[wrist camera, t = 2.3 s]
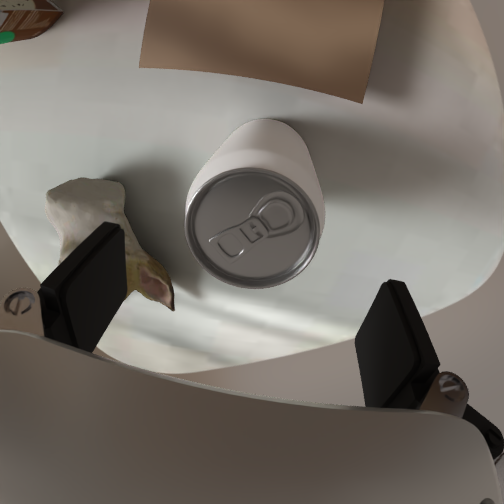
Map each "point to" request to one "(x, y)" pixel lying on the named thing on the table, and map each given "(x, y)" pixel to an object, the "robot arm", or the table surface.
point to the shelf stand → (268, 40)
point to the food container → (26, 18)
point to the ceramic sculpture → (92, 216)
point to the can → (256, 207)
